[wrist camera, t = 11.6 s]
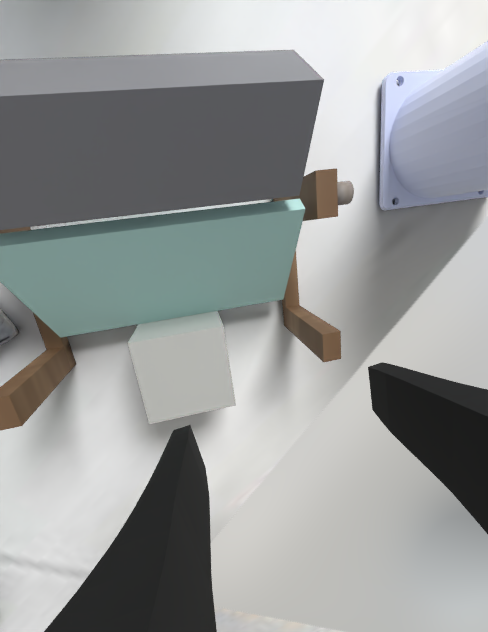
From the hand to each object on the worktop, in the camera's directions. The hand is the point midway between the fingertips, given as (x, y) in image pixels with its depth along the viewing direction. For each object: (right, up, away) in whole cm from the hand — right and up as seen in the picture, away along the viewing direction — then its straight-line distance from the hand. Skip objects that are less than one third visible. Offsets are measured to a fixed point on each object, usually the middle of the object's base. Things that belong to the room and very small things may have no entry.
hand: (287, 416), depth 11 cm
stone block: (-6, +4, +6) cm, 9 cm away
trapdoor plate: (-6, +9, +4) cm, 12 cm away
